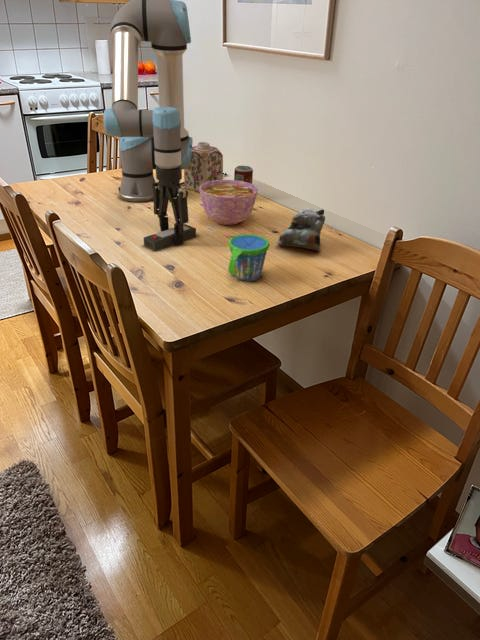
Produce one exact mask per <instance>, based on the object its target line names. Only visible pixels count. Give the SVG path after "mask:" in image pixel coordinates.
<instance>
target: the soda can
mask: <svg viewBox="0 0 480 640" xmlns="http://www.w3.org/2000/svg"><path fill="white" fill-rule="evenodd" d="M233 174H234V176H233V177H234V178H233V180H236V181H243V182H248V183H250V184H253V176H254V169H253V168H252V167H251V166H249V165H238V166H236V167H235V168H234V173H233Z"/></svg>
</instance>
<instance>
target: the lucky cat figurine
mask: <svg viewBox="0 0 480 640" xmlns="http://www.w3.org/2000/svg"><path fill="white" fill-rule="evenodd" d="M325 222H326V216H325V209H320V210H315V209H311V208H309V209H303V210H302V211H300V212H297V213H296V214H294V216H293V217H292V219H291V222H290V224H289V227H287V229H286V230H284V231H283V232H282V233H281V234H280V235H279V237H278V242H276V245H278V246H279V247H281V246H285V247H296V248H303V249H306V250H312V251H315V252H319V251H320V249H321V246H322V243H321V231H322V229H323V226H324V225H325Z"/></svg>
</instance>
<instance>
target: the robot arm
mask: <svg viewBox="0 0 480 640" xmlns="http://www.w3.org/2000/svg"><path fill="white" fill-rule="evenodd" d="M190 29H191V27H190V21H189V14H188V7H187V4H186V3H185V2H184V1H182V0H129V1H127V2H125V3H124V4H123V5H122V6H121V7H120V8H119V9H118V10H117V12H116V14H115V16H114V17H113V19H112V22H111V25H110V32H109V33H110V42H111V44H112V45H113V48H112V52H113V53H112V80H111V81H112V84H111V108H106V109H104V111H103V114H102V115H103V117H102V119H103V128H104V132H105V134H106V135H107V136H109V137H115V138H119V154H120V155H119V156H120V165H121V175H122V176H121V182H120V186H119V187H118V188H117V189H118V195H119V196H118V197H119V198H120V199H121V200H123V201H126V202H131V203H146V202H152V201H153V214H154V215H156V216H157V218H158V220H159V221H158V222H159V228H160V229H159V230H160V232H162V231H165V230H168V229H170V227H169V226H170V225H169V217H168V213H167V212H168V208H169V203H170V204H171V209H172V212H173V217H174V221H175V223H174V224H173V228H174V235H175V244H174V245H175V246H178V245H180V244H183V243H184V241H183V233H184V228H183V225H184V224H188V223H189V208H188V206H189V205H188V195H189V191H188V189H185V190H184V189H182V185H185V184H184V181H183V182H181V180H182V178H183V170H184V169H188V168H189V166H190V162H191V155H192V147H193V142H194V140H193V137H191V136H190V133H189V131H188V130H187V129H186V128H185V105H184V104H185V101H184V98H185V97H184V65H183V61H184V60H183V59H184V58H183V56H184V53H186V51H187V50H188V44H191V43H192V38H191V37H192V36H191V30H190ZM142 42H145V43H147V42H148V43H151V45H150V46H151V47H150V48H151V50H152V51H153V52H154V53H155V55H156V70H157V72H156V73H157V87H158V88H157V89H158V105H159V106H158V107H154V108H153V109H139V49H140V48H141V46H142ZM154 170H155V176H154ZM223 175H224V176H228V174H227V173H226V172H225V174H224V173H223ZM156 180H157V181H156Z"/></svg>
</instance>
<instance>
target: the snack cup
mask: <svg viewBox="0 0 480 640" xmlns="http://www.w3.org/2000/svg"><path fill="white" fill-rule="evenodd" d="M228 247H229V250H230V253H231V254H230V258H229V263H228V269H227V270H228V273H229V274H230V275H232V276H234V277H235V278H236V279H238V280H239V281H245V282H255V281H256V280H258V279H260V277H262V274H263V269H264V266H265V265H264V264H265V260H266V256H267V253H268V250H269V248H270V243H269V241H268V239H266V238H265V237H263V236H261V235H257V234H238V235H234V236H233V237H231V238H230V239H229V241H228Z"/></svg>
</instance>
